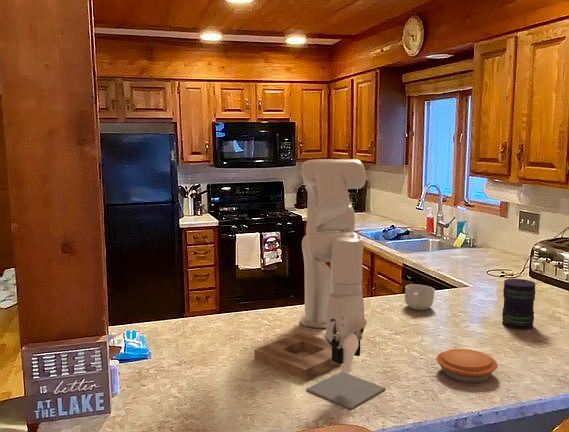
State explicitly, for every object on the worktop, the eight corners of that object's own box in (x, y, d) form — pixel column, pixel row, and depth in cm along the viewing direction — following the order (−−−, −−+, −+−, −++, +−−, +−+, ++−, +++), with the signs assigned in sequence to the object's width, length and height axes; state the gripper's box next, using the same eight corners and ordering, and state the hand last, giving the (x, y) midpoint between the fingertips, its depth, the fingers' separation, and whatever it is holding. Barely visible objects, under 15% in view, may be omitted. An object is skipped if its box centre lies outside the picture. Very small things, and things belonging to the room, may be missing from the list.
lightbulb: (344, 366, 135) (344, 325, 134) (363, 373, 131) (363, 330, 129) (328, 373, 131) (328, 331, 129) (347, 380, 127) (348, 337, 125)
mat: (341, 373, 141) (341, 371, 141) (385, 389, 131) (385, 387, 131) (306, 390, 131) (306, 388, 131) (350, 409, 122) (351, 407, 122)
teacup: (411, 302, 205) (411, 282, 204) (438, 306, 199) (439, 286, 198) (396, 311, 194) (396, 290, 193) (424, 316, 188) (425, 294, 187)
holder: (301, 341, 165) (301, 331, 165) (352, 358, 151) (352, 348, 151) (254, 359, 151) (254, 349, 151) (305, 380, 137) (305, 369, 137)
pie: (429, 362, 148) (430, 345, 148) (484, 362, 148) (485, 345, 147) (444, 386, 133) (445, 368, 132) (506, 386, 133) (507, 368, 132)
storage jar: (525, 332, 171) (527, 287, 169) (496, 325, 178) (498, 282, 176) (538, 325, 177) (541, 282, 175) (510, 318, 185) (512, 277, 183)
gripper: (355, 279, 137) (355, 345, 139) (311, 292, 125) (311, 364, 127) (379, 284, 131) (378, 352, 134) (335, 298, 119) (335, 373, 122)
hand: (346, 357), depth 130 cm, fingers closed on lightbulb, 6 cm apart
